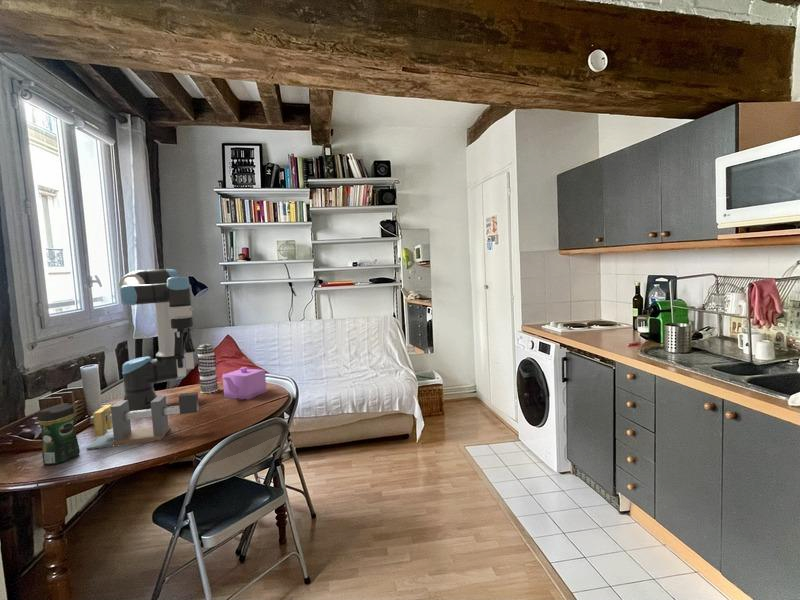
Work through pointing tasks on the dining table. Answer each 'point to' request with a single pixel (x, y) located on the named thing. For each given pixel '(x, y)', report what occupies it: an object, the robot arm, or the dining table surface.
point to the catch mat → (102, 442)
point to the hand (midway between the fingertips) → (186, 372)
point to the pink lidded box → (244, 383)
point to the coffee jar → (58, 433)
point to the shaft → (164, 408)
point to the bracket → (129, 436)
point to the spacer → (102, 420)
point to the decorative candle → (207, 368)
